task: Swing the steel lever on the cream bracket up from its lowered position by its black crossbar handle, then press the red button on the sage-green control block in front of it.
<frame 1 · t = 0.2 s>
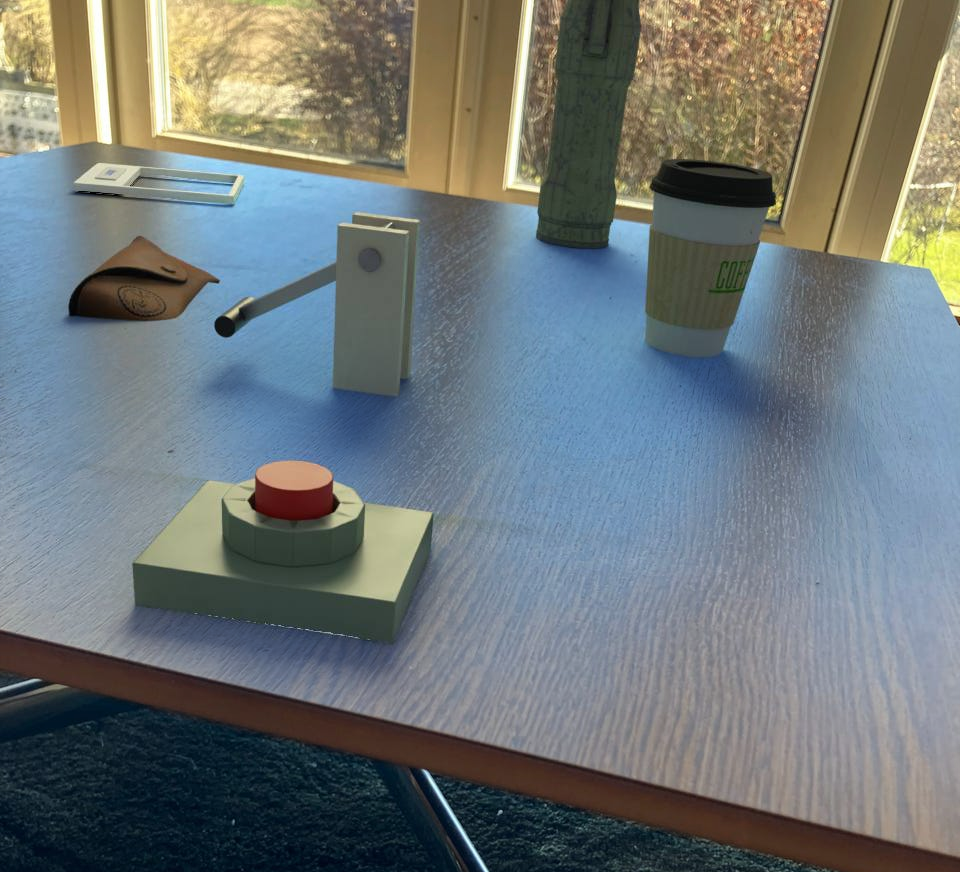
bracket: (371, 399, 79), on the table
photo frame: (163, 188, 137), on the table
thermos: (571, 241, 134), on the table
control block: (293, 576, 55), on the table
lever: (311, 282, 75), point 7 cm above the table, hinge at -30.0°
coffee cup: (680, 362, 94), on the table
button: (294, 492, 53), point 4 cm above the table, slide at 0.1 cm
sunglasses case: (151, 309, 93), on the table
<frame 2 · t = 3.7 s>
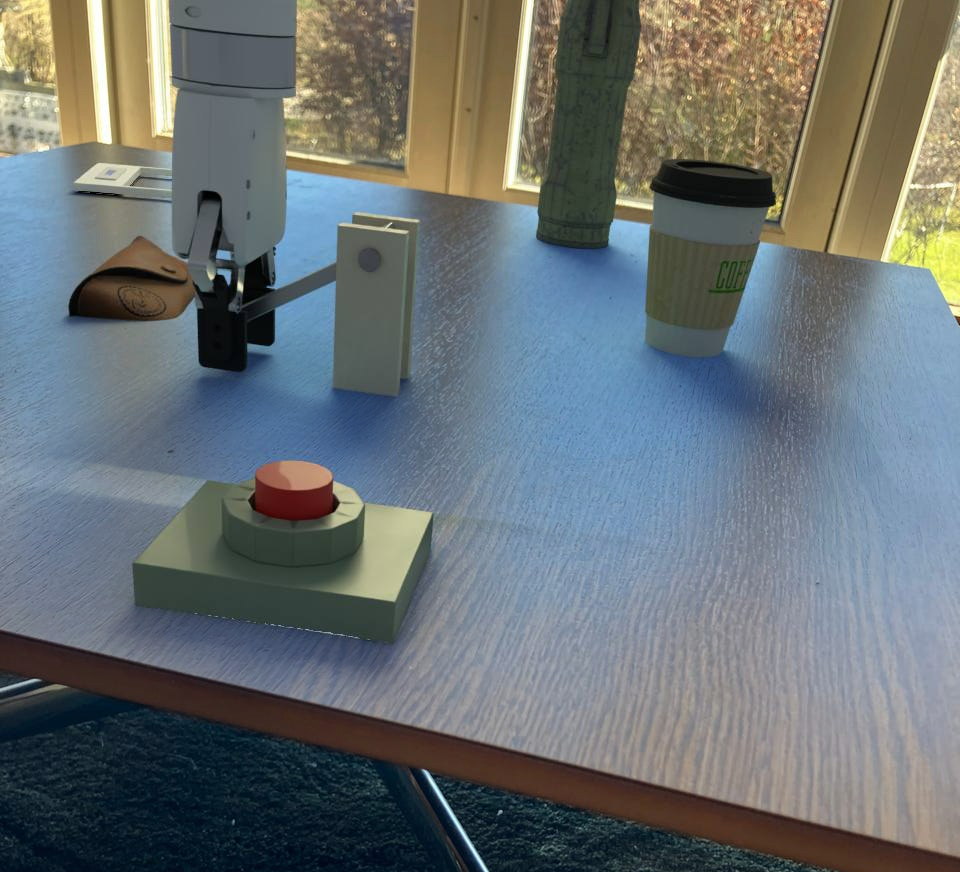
hand: (238, 352, 78), 2 cm above the table, tool pointing down, fingers closed on lever, 5 cm apart
lever: (311, 282, 75), point 7 cm above the table, hinge at -30.0°, touching gripper
everything else where it was.
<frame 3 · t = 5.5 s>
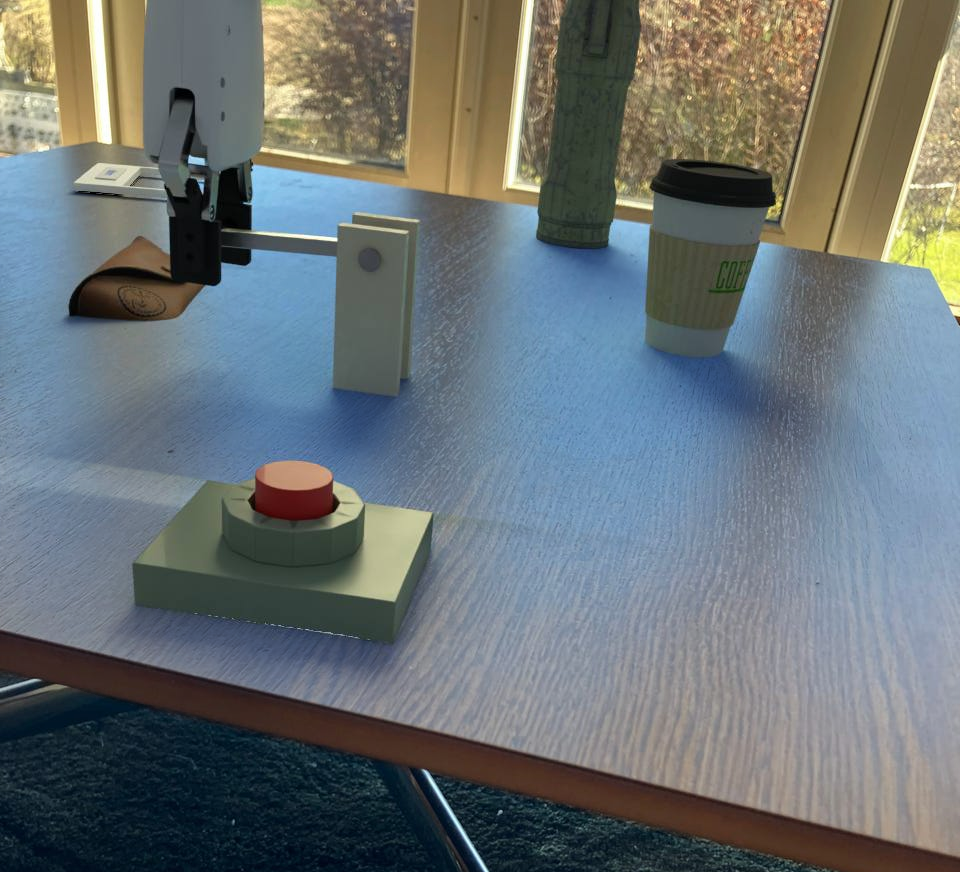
hand: (212, 269, 76), 7 cm above the table, tool pointing down, fingers closed on lever, 5 cm apart
lever: (301, 244, 74), point 10 cm above the table, hinge at -2.0°, touching gripper
everything else where it was.
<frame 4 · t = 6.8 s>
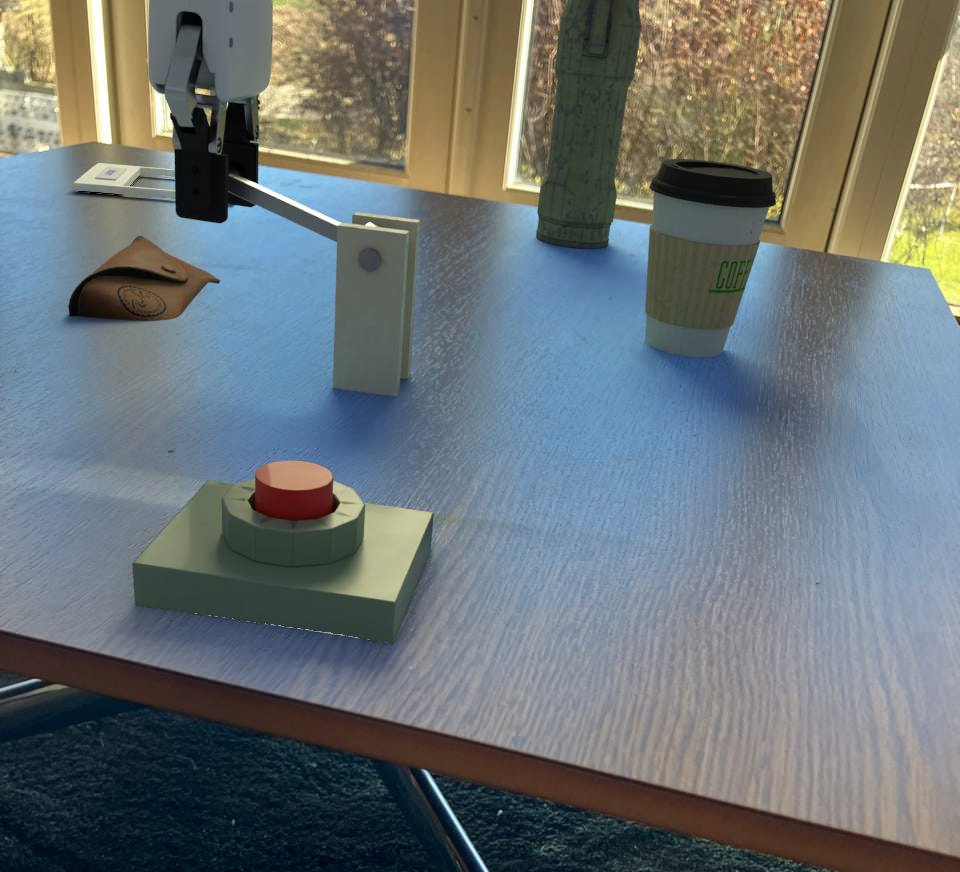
hand: (218, 208, 74), 11 cm above the table, tool pointing down, fingers closed on lever, 5 cm apart
lever: (305, 217, 73), point 12 cm above the table, hinge at 17.4°, touching gripper
everything else where it was.
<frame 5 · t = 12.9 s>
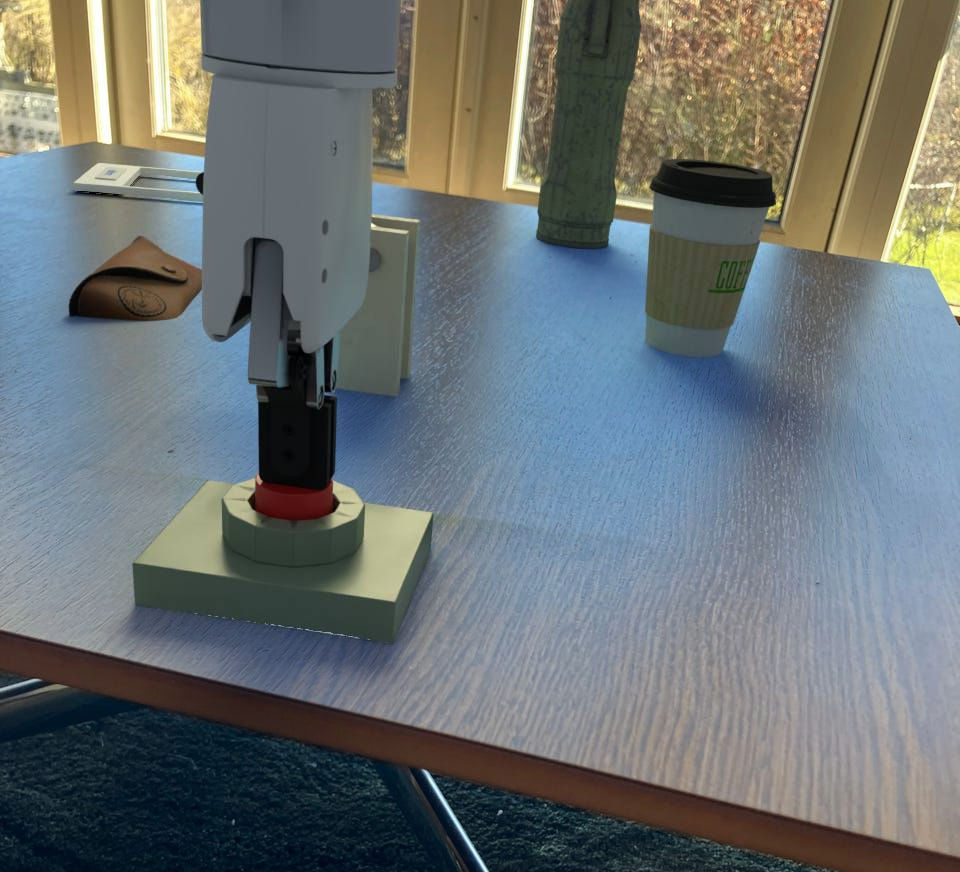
hand: (297, 479, 53), 5 cm above the table, tool pointing down, fingers closed
lever: (305, 217, 73), point 12 cm above the table, hinge at 17.3°
button: (294, 496, 53), point 4 cm above the table, slide at -0.1 cm, touching gripper
everything else where it was.
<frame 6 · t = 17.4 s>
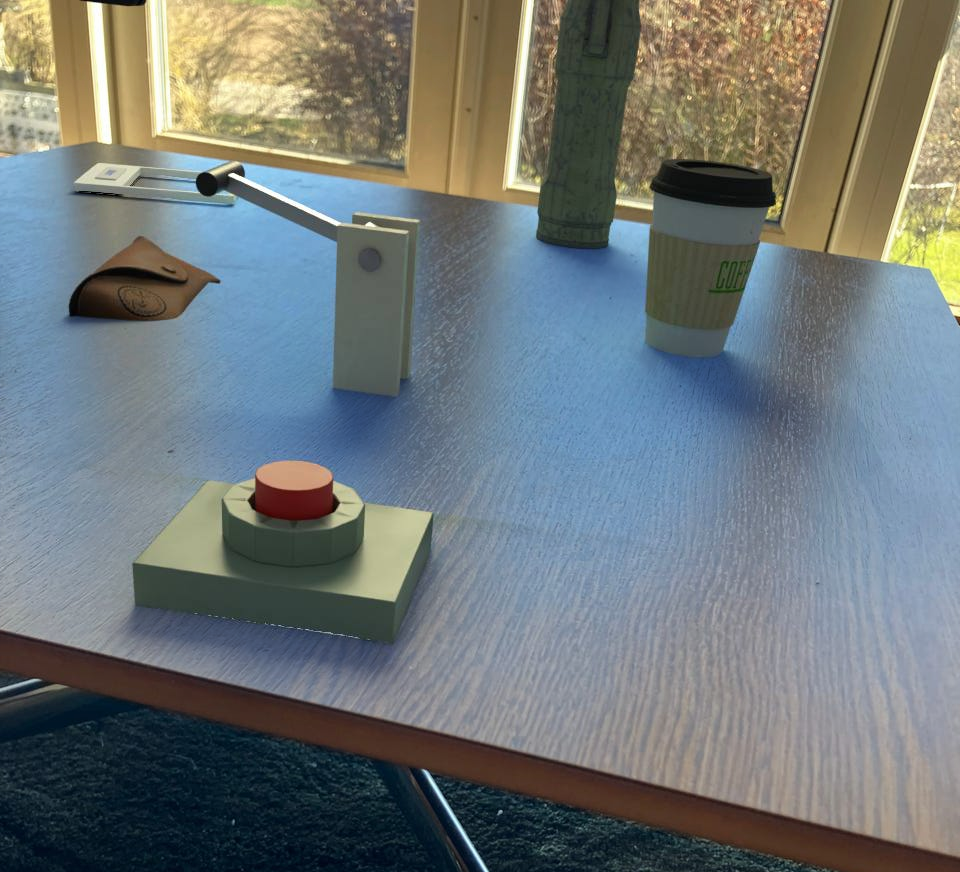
hand: (110, 2, 57), 23 cm above the table, tool pointing down, fingers closed
button: (294, 492, 53), point 4 cm above the table, slide at 0.1 cm
everything else where it was.
at the end: lever at +17° (first picture: -30°); button pushed in 1.1 cm at the most during the clip, back to where it started at the end; button slide at 0.1 cm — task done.
